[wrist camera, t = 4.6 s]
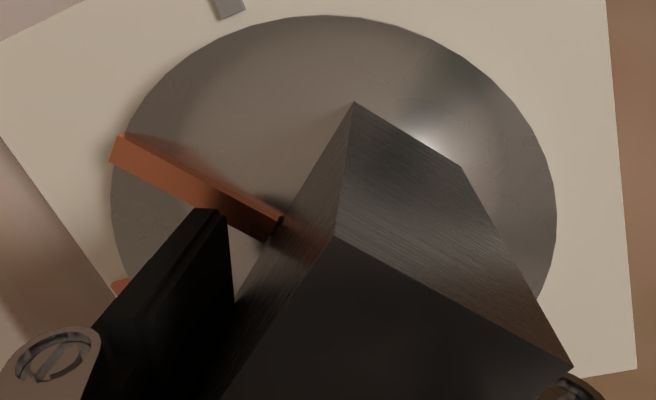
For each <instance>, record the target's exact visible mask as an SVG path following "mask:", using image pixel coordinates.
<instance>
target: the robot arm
mask: <svg viewBox="0 0 656 400" xmlns="http://www.w3.org/2000/svg"><path fill="white" fill-rule="evenodd" d="M234 303H235V298H234V288H233V277H232V267H231V256H230V246H229V235H228V225H227V218H226V216H225V215H220V212H219V210H218V209H210V208H194V209H192V211H191V212H190V213H189V214H188V215H187V216H186V218H185V219H184V220H183V221H182V222H181V223H180V225H179V226H178V227H177V228H176V229H175V231H174V232H173V233H172V234H171V235H170V236H169V238H168V239H167V240H166V241H165V242H164V243H163V245H162V246H161V247H160V248H159V249H158V250H157V252H156V253H155V254H154V255H153V256H152V257H151V258H150V259H149V260H148V261H147V262H146V264H145V265H144V266H143V267H142V268H141V269H140V271H139V272H138V273H137V274H136V275H135V277H134V278H133V279H132V280H131V281H130V282H129V284H128V285H127V286H126V287H125V288H124V289H123V291H122V292H121V293H120V294H119V295H118V296H117V298H116V299H115V300H114V301H113V302H112V303H111V305H110V306H109V307H108V308H107V309H106V310H105V312H104V313H103V314H102V315H101V316H100V317H99V319H98V320H97V321H96V322H95V323H94V324H93V326H92V327H91V328H88V327H84V326H68V327H63V328H58V329H54V330H52V331H49V332H46V333H44V334H41V335H39V336H37V337H36V338H34V339H32V340H30V341H28V342H27V343H26V344H25V345H23V346H22V347H21V348H19V349H18V350H17V351H16V352H15V353H14V354H13V355H12V357H11V358H10V359H9V360H8V362H7V363H6V365H5V366H4V368H3V369H2V371H1V372H0V400H191V399H192V397H193V395H194V393H195V390H196V388H197V386H198V384H199V381H200V379H201V377H202V375H203V373H204V370H205V368H206V366H207V364H208V361H209V359H210V357H211V355H212V352H213V350H214V348H215V346H216V343H217V341H218V339H219V337H220V334H221V332H222V330H223V328H224V325H225V323H226V321H227V319H228V316H229V314H230V312H231V310H232V308H233V305H234ZM533 400H605V399H604V397H603V396H602V395H601V394H600V393H599V392H598V391H597V390H595V389H594V388H593V387H592V386H591V385H589V384H588V383H587V382H585V381H583V380H582V379H580V378H578V377H577V376H575V375H573V374H570V373H568V372H567V373H566V374H565V375H564V376H562V377H561V378H560V379H559V380H557V381H556V382H555V383H553V384H552V385H551V386H550V387H548V388H547V389H546V390H544V391H543V392H542V393H541V394H539V395H538V396H537V397H536V398H534V399H533Z"/></svg>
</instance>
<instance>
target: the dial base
mask: <svg viewBox="0 0 656 400" xmlns="http://www.w3.org/2000/svg"><path fill="white" fill-rule="evenodd" d="M320 14H334V15H347V16H361V17H365V18H370V19H374V20H379V21H383V22H388V23H392V24H396V25H398V26H401V27H404V28H406V29H409V30H411V31H414V32H417V33H419V34H422V35H425V36H427V37H428V38H430V39H432V40H434V41H436V42H437V43H439V44H441V45H443V46H445V47H446V48H448V49H450V50H452V51H453V52H455V53H457V54H459V55H461V56H462V57H464V58H465V59H466V60H468V61H469V62H470V63H472V64H473V65H474V66H475V67H477V68H478V69H479V70H481V71H482V72H483V73H484V74H486V75H487V76H488V77H490V78H491V79H492V80H493V81H494V82H495V83H496V84H497V85H498V86H499V88H500V89H501V90H502V91H503V92H504V93H505V94H506V95H507V96H508V97H509V98H510V99H511V100H512V101H513V102H514V103H515V105H516V106H517V108H518V109H519V111H520V112H521V114H522V115H523V116H524V118H525V119H526V121H527V122H528V124H529V125H530V127H531V128H532V130H533V132H534V134H535V136H536V138H537V140H538V142H539V144H540V146H541V148H542V151H543V153H544V155H545V157H546V160H547V163H548V167H549V170H550V174H551V177H552V181H553V184H554V191H555V199H556V207H557V230H556V243H555V248H554V253H553V258H552V263H551V267H550V269H549V272H548V275H547V277H546V280H545V283H544V286H543V288H542V291H541V292H540V294H539V296H538V298H537V302H538V304H539V305H540V307H541V309H542V311H543V312H544V314H545V316H546V318H547V319H548V321H549V323H550V325H551V326H552V328H553V330H554V332H555V334H556V335H557V337H558V339H559V341H560V342H561V344H562V346H563V348H564V349H565V351H566V353H567V355H568V356H569V358H570V360H571V362H572V364H573V365H574V368H573V369H571V370H570V371H569V372H568V373H570V374H573V375H575V376H577V377H578V378H585V377H591V376H597V375H603V374H609V373H615V372H621V371H627V370H633V369H637V358H636V347H635V335H634V324H633V312H632V301H631V289H630V278H629V266H628V255H627V243H626V232H625V220H624V209H623V197H622V186H621V174H620V163H619V151H618V140H617V128H616V117H615V105H614V94H613V82H612V71H611V59H610V48H609V36H608V25H607V13H606V2H605V0H84V1H82V2H80V3H78V4H76V5H74V6H72V7H70V8H68V9H66V10H64V11H62V12H60V13H58V14H56V15H54V16H52V17H50V18H48V19H46V20H44V21H42V22H40V23H38V24H35V25H33V26H31V27H29V28H27V29H25V30H23V31H21V32H19V33H17V34H15V35H13V36H11V37H9V38H7V39H5V40H3V41H1V42H0V136H1V138H2V139H3V141H4V142H5V143H6V145H7V146H8V148H9V149H10V150H11V152H12V153H13V155H14V156H15V157H16V159H17V160H18V162H19V163H20V164H21V166H22V167H23V169H24V170H25V171H26V173H27V174H28V176H29V177H30V178H31V180H32V181H33V183H34V184H35V185H36V187H37V188H38V190H39V191H40V192H41V194H42V195H43V196H44V198H45V199H46V201H47V202H48V203H49V205H50V206H51V208H52V209H53V210H54V212H55V213H56V215H57V216H58V217H59V219H60V220H61V222H62V223H63V224H64V226H65V227H66V229H67V230H68V231H69V233H70V234H71V236H72V237H73V238H74V240H75V241H76V243H77V244H78V245H79V247H80V248H81V250H82V251H83V252H84V254H85V255H86V257H87V258H88V259H89V261H90V262H91V264H92V265H93V266H94V268H95V269H96V271H97V272H98V273H99V275H100V276H101V277H102V279H103V280H104V282H105V283H106V284H107V286H108V287H109V289H110V290H111V291H112V293H113V294H114V296H115V297H116V298H117V296H118V295H119V294H120V293H121V292H122V291H123V289H124V288H125V287H126V286H127V285H128V284H129V282H130V279H129V277H128V275H127V273H126V271H125V269H124V267H123V264H122V261H121V258H120V255H119V252H118V249H117V246H116V242H115V237H114V232H113V226H112V221H111V204H110V192H111V182H112V172H113V167H114V164H112V163H110V162H108V161H109V158H110V155H111V152H112V149H113V146H114V143H115V140H116V137H117V135H118V134H120V133H122V132H125V131H126V128H127V126H128V124H129V122H130V119H131V118H132V116H133V115H134V113H135V112H136V110H137V109H138V107H139V106H140V104H141V103H142V101H143V100H144V98H145V96H146V95H147V94H148V93H149V92H150V91H151V90H152V89H153V87H154V86H155V85H156V84H157V83H158V82H159V81H160V80H161V79H162V78H163V76H164V75H165V74H166V73H167V72H169V71H170V70H171V69H172V68H174V67H175V66H176V65H177V64H179V63H180V62H181V61H182V60H184V59H185V58H186V57H187V56H189V55H190V54H191V53H193V52H195V51H197V50H198V49H200V48H202V47H204V46H205V45H207V44H209V43H211V42H213V41H214V40H216V39H218V38H220V37H222V36H225V35H227V34H230V33H233V32H235V31H238V30H241V29H243V28H246V27H248V26H251V25H255V24H260V23H264V22H269V21H274V20H278V19H283V18H287V17H293V16H306V15H320Z"/></svg>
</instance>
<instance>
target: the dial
mask: <svg viewBox="0 0 656 400" xmlns="http://www.w3.org/2000/svg"><path fill="white" fill-rule="evenodd" d="M108 162H110V163H112V164H114V167H113V172H112V182H111V192H110V204H111V221H112V226H113V232H114V237H115V242H116V246H117V249H118V252H119V255H120V258H121V261H122V264H123V267H124V269H125V271H126V273H127V275H128V277H129V279H130V281H131V280H132V279H133V278H134V277H135V275H136V274H137V273H138V272H139V271H140V269H141V268H142V267H143V266H144V265H145V264H146V262H147V261H148V260H149V259H150V258H151V257H152V256H153V255H154V254H155V253H156V252H157V250H158V249H159V248H160V247H161V246H162V245H163V243H164V242H165V241H166V240H167V239H168V238H169V236H170V235H171V234H172V233H173V232H174V231H175V229H176V228H177V227H178V226H179V225H180V223H181V222H182V221H183V220H184V219H185V218H186V216H187V215H188V214H189V213H190V212H191V211H192V209H194V208H210V209H218V210H219V212H220V215H225V216H226V218H227V225H228V235H229V246H230V256H231V267H232V277H233V288H234V298H235V303H234V305H233V308H232V310H231V312H230V314H229V316H228V319H227V321H226V323H225V325H224V328H223V330H222V332H221V334H220V337H219V339H218V341H217V343H216V346H215V348H214V350H213V352H212V355H211V357H210V359H209V361H208V364H207V366H206V368H205V370H204V373H203V375H202V377H201V379H200V381H199V384H198V386H197V388H196V390H195V393H194V395H193V397H192V399H191V400H533V399H534V398H536V397H537V396H538V395H539V394H541V393H542V392H543V391H544V390H546V389H547V388H548V387H550V386H551V385H552V384H553V383H555V382H556V381H557V380H559V379H560V378H561V377H562V376H564V375H565V374H566V373H567V372H569V371H570V370H571V369H573V368H574V365H573V364H572V362H571V360H570V358H569V356H568V355H567V353H566V351H565V349H564V348H563V346H562V344H561V342H560V341H559V339H558V337H557V335H556V334H555V332H554V330H553V328H552V326H551V325H550V323H549V321H548V319H547V318H546V316H545V314H544V312H543V311H542V309H541V307H540V305H539V304H538V302H537V298H538V296H539V294H540V292H541V291H542V288H543V286H544V283H545V280H546V277H547V275H548V272H549V269H550V267H551V263H552V258H553V253H554V248H555V243H556V230H557V207H556V199H555V191H554V184H553V181H552V177H551V174H550V170H549V167H548V163H547V160H546V157H545V155H544V153H543V151H542V148H541V146H540V144H539V142H538V140H537V138H536V136H535V134H534V132H533V130H532V128H531V127H530V125H529V124H528V122H527V121H526V119H525V118H524V116H523V115H522V114H521V112H520V111H519V109H518V108H517V106H516V105H515V103H514V102H513V101H512V100H511V99H510V98H509V97H508V96H507V95H506V94H505V93H504V92H503V91H502V90H501V89H500V88H499V86H498V85H497V84H496V83H495V82H494V81H493V80H492V79H491V78H490V77H488V76H487V75H486V74H484V73H483V72H482V71H481V70H479V69H478V68H477V67H475V66H474V65H473V64H472V63H470V62H469V61H468V60H466V59H465V58H464V57H462V56H461V55H459V54H457V53H455V52H453V51H452V50H450V49H448V48H446V47H445V46H443V45H441V44H439V43H437V42H436V41H434V40H432V39H430V38H428V37H427V36H425V35H422V34H419V33H417V32H414V31H411V30H409V29H406V28H404V27H401V26H398V25H396V24H392V23H388V22H383V21H379V20H374V19H370V18H365V17H361V16H347V15H334V14H320V15H306V16H293V17H287V18H283V19H278V20H274V21H269V22H264V23H260V24H255V25H251V26H248V27H246V28H243V29H241V30H238V31H235V32H233V33H230V34H227V35H225V36H222V37H220V38H218V39H216V40H214V41H213V42H211V43H209V44H207V45H205V46H204V47H202V48H200V49H198V50H197V51H195V52H193V53H191V54H190V55H189V56H187V57H186V58H185V59H184V60H182V61H181V62H180V63H179V64H177V65H176V66H175V67H174V68H172V69H171V70H170V71H169V72H167V73H166V74H165V75H164V76H163V78H162V79H161V80H160V81H159V82H158V83H157V84H156V85H155V86H154V87H153V89H152V90H151V91H150V92H149V93H148V94H147V95H146V96H145V98H144V100H143V101H142V103H141V104H140V106H139V107H138V109H137V110H136V112H135V113H134V115H133V116H132V118H131V119H130V122H129V124H128V126H127V128H126V131H125V132H122V133H120V134H118V135H117V137H116V140H115V143H114V146H113V149H112V152H111V155H110V158H109V161H108Z"/></svg>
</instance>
